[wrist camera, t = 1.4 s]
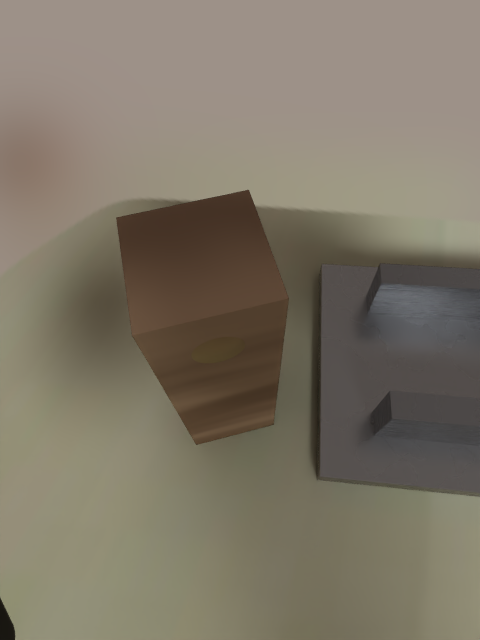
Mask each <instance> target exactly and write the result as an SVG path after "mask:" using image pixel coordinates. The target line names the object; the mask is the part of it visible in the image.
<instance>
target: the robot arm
mask: <svg viewBox="0 0 480 640" xmlns="http://www.w3.org/2000/svg"><path fill="white" fill-rule="evenodd" d="M0 640H15V630H14V626H13V623H12V621H11V619H10V617H9V615H8V613H7V611H6V609H5V607H4V605H3V602H2V600H1V598H0Z"/></svg>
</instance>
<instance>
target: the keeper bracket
mask: <svg viewBox="0 0 480 640" xmlns="http://www.w3.org/2000/svg"><path fill="white" fill-rule="evenodd" d="M317 480H325V481H334V482H344V483H354V484H363V485H373V486H383V487H393V488H402V489H412V490H422V491H431V492H441V493H451V494H460V495H470V496H480V269H467V268H450V267H433V266H416V265H399V264H381V263H380V265H379V267H364V266H348V265H331V264H322V266H321V270H320V291H319V379H318V468H317Z"/></svg>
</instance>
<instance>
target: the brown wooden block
mask: <svg viewBox="0 0 480 640" xmlns="http://www.w3.org/2000/svg"><path fill="white" fill-rule="evenodd" d="M116 219H117V227H118V234H119V241H120V249H121V256H122V264H123V271H124V279H125V286H126V293H127V301H128V308H129V316H130V323H131V331H132V336H133V338H134V339H135V341H136V343H137V345H138V346H139V348H140V350H141V351H142V353H143V355H144V356H145V358H146V360H147V362H148V363H149V365H150V367H151V368H152V370H153V372H154V373H155V375H156V377H157V379H158V380H159V382H160V384H161V385H162V387H163V389H164V390H165V392H166V394H167V396H168V397H169V399H170V401H171V402H172V404H173V406H174V407H175V409H176V411H177V413H178V414H179V416H180V418H181V419H182V421H183V423H184V425H185V426H186V428H187V430H188V431H189V433H190V435H191V436H192V438H193V440H194V442H195V443H196V445H198V444H202V443H205V442H209V441H213V440H217V439H221V438H224V437H228V436H232V435H236V434H240V433H243V432H247V431H251V430H255V429H259V428H263V427H266V426H270V425H273V424H274V415H275V407H276V399H277V391H278V383H279V375H280V366H281V358H282V350H283V342H284V334H285V326H286V317H287V309H288V301H289V298H288V295H287V292H286V289H285V287H284V284H283V281H282V279H281V276H280V273H279V270H278V268H277V265H276V262H275V260H274V257H273V254H272V251H271V249H270V246H269V243H268V241H267V238H266V235H265V232H264V230H263V227H262V224H261V222H260V219H259V216H258V213H257V211H256V208H255V205H254V203H253V200H252V197H251V195H250V192H249V190H246V191H241V192H236V193H232V194H227V195H222V196H217V197H212V198H208V199H203V200H198V201H193V202H189V203H184V204H179V205H174V206H170V207H165V208H160V209H155V210H150V211H146V212H141V213H136V214H131V215H127V216H122V217H117V218H116Z"/></svg>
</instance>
